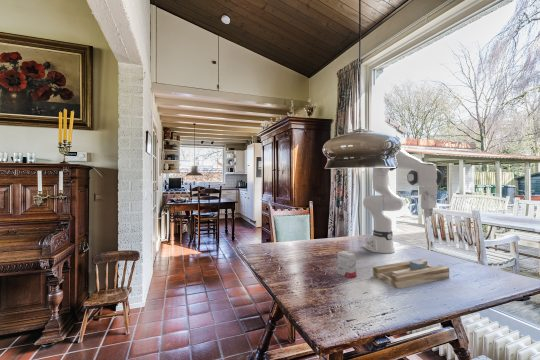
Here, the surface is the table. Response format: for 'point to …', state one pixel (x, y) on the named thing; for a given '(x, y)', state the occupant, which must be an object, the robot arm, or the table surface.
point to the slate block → (417, 265)
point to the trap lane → (410, 282)
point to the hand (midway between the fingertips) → (428, 216)
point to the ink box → (346, 264)
